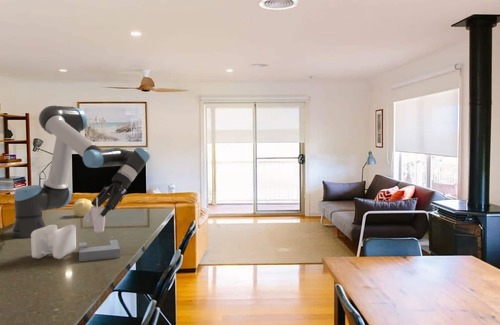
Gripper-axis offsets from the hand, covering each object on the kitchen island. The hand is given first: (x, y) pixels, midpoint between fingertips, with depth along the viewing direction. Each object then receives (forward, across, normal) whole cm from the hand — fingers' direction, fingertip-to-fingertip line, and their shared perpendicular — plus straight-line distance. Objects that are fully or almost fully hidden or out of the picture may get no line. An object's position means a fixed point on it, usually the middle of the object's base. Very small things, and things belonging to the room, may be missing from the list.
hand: (90, 220), depth 169 cm
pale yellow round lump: (-21, +80, -40) cm, 92 cm away
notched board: (+8, -3, -11) cm, 14 cm away
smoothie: (+1, 0, -6) cm, 6 cm away
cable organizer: (+17, +10, -2) cm, 20 cm away
